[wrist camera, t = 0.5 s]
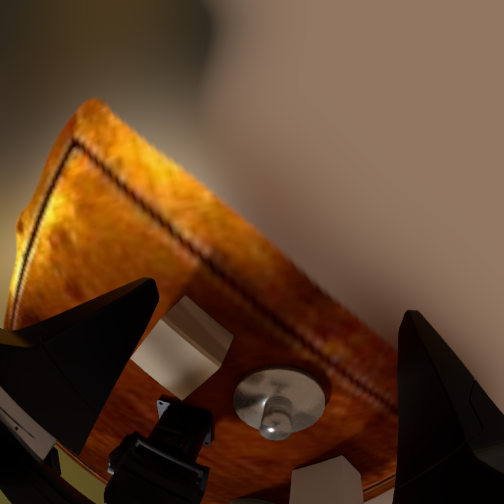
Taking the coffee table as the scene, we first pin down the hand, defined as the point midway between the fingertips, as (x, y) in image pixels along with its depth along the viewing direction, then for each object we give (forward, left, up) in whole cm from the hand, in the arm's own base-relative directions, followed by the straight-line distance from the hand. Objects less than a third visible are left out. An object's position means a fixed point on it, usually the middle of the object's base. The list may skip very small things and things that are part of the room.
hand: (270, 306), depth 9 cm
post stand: (-16, -2, -13) cm, 20 cm away
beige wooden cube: (-10, +7, -13) cm, 18 cm away
